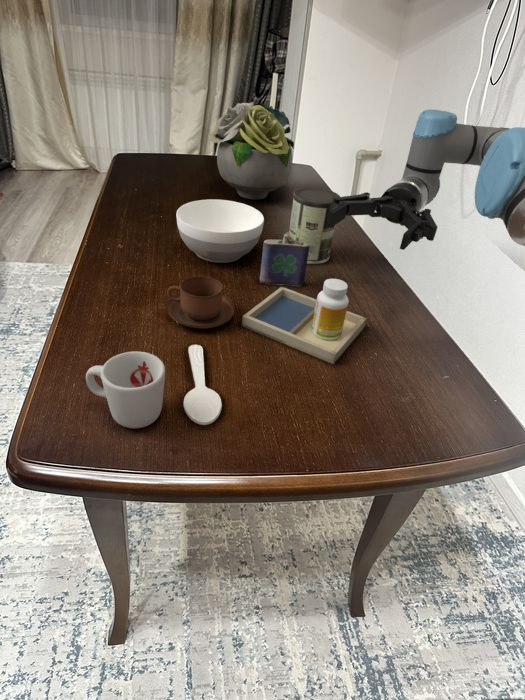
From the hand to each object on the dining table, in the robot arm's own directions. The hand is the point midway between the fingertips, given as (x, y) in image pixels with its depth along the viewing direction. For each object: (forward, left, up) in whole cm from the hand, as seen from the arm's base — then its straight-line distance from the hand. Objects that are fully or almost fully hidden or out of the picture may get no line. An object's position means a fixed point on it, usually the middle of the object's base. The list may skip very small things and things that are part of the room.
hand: (365, 230), depth 84 cm
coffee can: (+18, -18, -17) cm, 31 cm away
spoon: (+10, +34, -17) cm, 39 cm away
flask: (+16, -2, -17) cm, 23 cm away
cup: (+14, +45, -17) cm, 50 cm away
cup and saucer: (+21, +19, -17) cm, 33 cm away
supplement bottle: (0, +10, -16) cm, 19 cm away
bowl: (+34, -5, -17) cm, 38 cm away
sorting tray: (+4, +10, -17) cm, 20 cm away
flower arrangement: (+49, -43, -17) cm, 67 cm away
